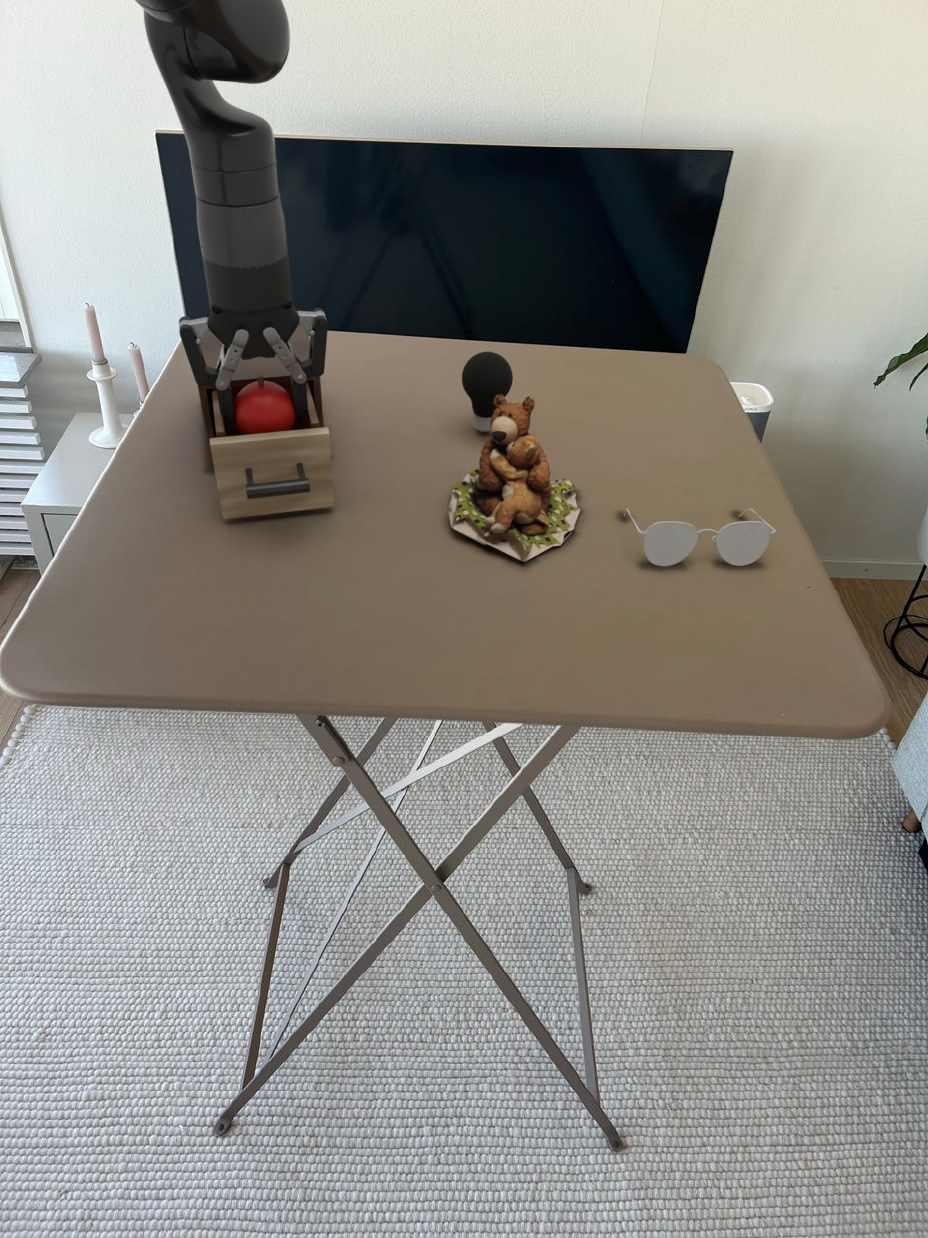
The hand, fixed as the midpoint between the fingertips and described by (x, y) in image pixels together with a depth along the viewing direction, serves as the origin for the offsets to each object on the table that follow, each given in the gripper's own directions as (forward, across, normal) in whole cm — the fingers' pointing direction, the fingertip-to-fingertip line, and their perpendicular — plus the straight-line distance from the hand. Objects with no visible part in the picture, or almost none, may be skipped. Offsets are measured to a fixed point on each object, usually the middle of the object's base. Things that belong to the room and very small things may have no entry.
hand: (265, 414), depth 90 cm
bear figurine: (+9, +24, -10) cm, 28 cm away
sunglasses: (+9, +41, -18) cm, 46 cm away
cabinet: (+9, 0, +12) cm, 15 cm away
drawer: (+8, 0, -1) cm, 8 cm away
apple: (+3, 0, 0) cm, 3 cm away
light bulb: (+9, +26, +7) cm, 28 cm away
